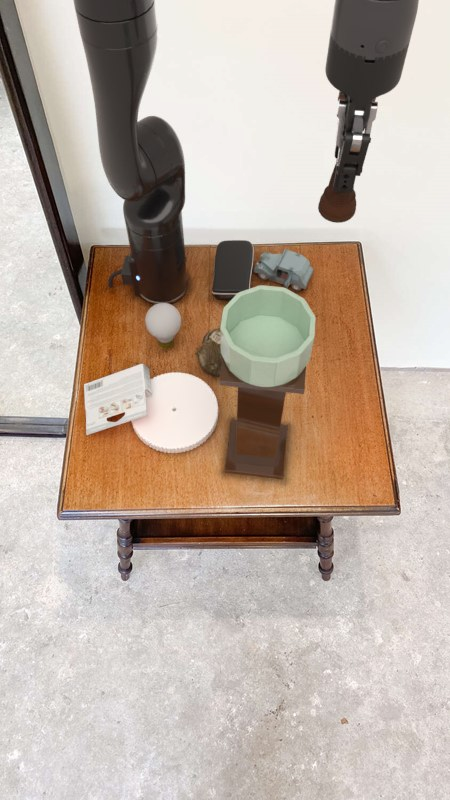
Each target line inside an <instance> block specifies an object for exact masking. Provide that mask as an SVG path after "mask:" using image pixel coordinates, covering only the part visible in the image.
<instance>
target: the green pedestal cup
mask: <svg viewBox="0 0 450 800" xmlns="http://www.w3.org/2000/svg"><path fill="white" fill-rule="evenodd" d="M316 322H317V317H316V315H315V313H314V312H313V310H312V308H311V307H310V305H309V304H308V302H307V300H306V299H305V298H304V297H302V296H300V295H299V294H297V293H295V292H293V291H291V290H290V289H289V288H287V289H286V288H285V286H273V285H263V284H260V285H259V284H258V285H256V286H253V287H250V289H247V290H244V291H241V292H239V293H237V294H236V295H235V297H234V298H233V299H232V300H229V302H228V303H227V304H226V305H225V306H224V307H223V309H222V314H221V320H220V327H219V328H220V341H221V354H222V356H223V360H222V367H221V373H220V376H219V380H218V383H219V384H218V385H219V386H222V387H233V388H237V399H236V400H237V403H236V419H234V418H231V423H230V430H229V431H230V432H229V438H228V443H227V444H228V445H227V453H226V458H225V459H226V460H225V466H224V474H225V473H226V474H233V475H242V476H250V477H257V478H258V477H260V478H269V479H277V480H283V479H284V475H285V474H284V473H285V463H286V462H285V461H286V452H287V451H286V450H287V441H288V440H287V438H288V429H289V425H288V424H282V420H283V413H284V406H285V400H286V394H287V393H288V394H289V393H290V394H297V395H298V394H299V395H304V394H305V388H306V376H307V365H308V364H309V363H310V361H311V355H312V353H313V352H312V351H313V347H314V341H315V334H316Z"/></svg>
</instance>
